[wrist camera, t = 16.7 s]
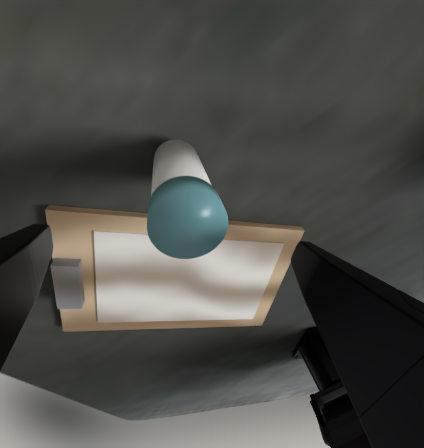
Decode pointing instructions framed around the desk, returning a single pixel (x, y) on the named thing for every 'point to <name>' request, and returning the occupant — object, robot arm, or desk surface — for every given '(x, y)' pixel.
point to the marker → (183, 204)
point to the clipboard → (161, 273)
